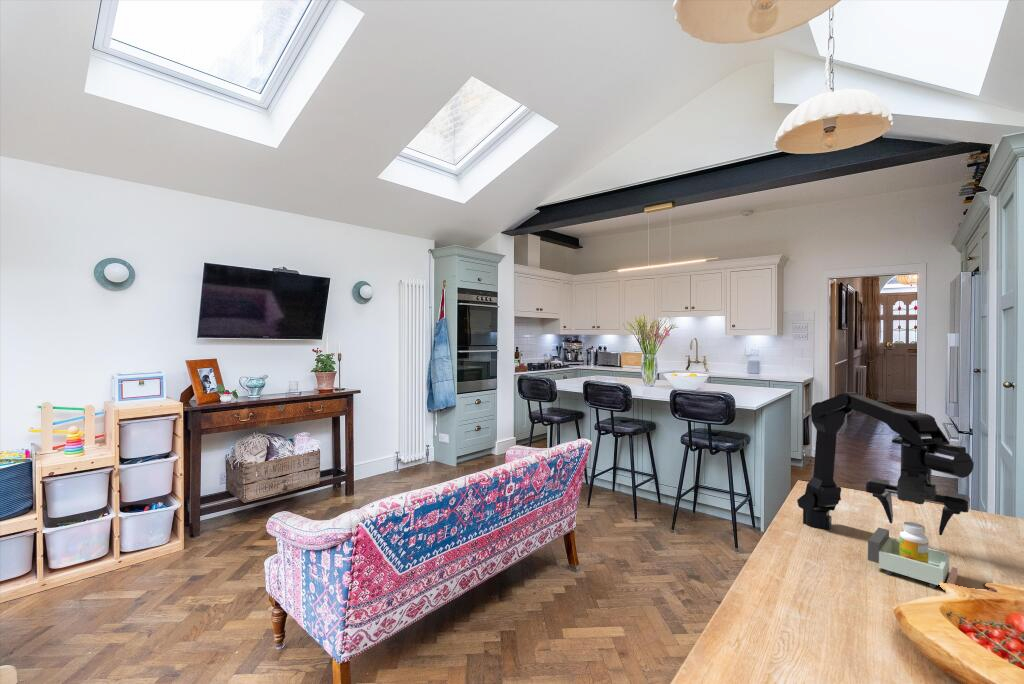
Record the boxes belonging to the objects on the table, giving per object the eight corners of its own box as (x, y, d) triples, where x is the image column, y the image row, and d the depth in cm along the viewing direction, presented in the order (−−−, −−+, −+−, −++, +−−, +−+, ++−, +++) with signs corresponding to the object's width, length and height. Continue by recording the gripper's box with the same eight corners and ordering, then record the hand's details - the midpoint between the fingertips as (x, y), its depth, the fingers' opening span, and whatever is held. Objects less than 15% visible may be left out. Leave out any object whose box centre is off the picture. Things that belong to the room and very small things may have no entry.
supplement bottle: (893, 559, 116) (893, 520, 116) (914, 558, 116) (914, 520, 116) (912, 570, 111) (913, 529, 111) (934, 569, 111) (935, 529, 111)
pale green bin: (867, 568, 116) (868, 540, 116) (878, 554, 123) (878, 527, 123) (942, 592, 105) (943, 560, 105) (949, 574, 113) (949, 545, 113)
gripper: (860, 463, 115) (860, 525, 115) (965, 481, 101) (964, 552, 101) (871, 455, 122) (870, 514, 122) (970, 471, 108) (969, 537, 108)
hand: (915, 528), depth 113 cm, fingers open, 9 cm apart
